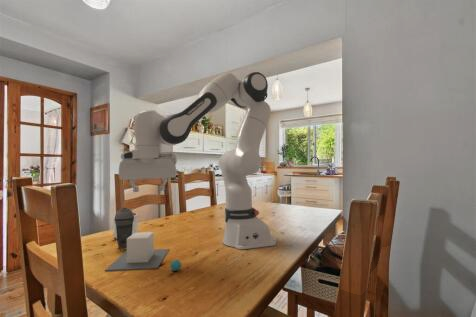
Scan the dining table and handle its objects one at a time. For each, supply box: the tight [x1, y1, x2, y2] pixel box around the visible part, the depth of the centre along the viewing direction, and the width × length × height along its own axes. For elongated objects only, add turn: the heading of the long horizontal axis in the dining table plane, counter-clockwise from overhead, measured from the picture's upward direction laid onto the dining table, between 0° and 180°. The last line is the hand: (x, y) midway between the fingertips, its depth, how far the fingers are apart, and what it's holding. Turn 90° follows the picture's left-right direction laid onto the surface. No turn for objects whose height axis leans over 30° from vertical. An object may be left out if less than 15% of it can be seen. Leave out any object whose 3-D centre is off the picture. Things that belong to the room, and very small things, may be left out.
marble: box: [170, 259, 182, 272], centre depth 71 cm, size 3×3×3 cm
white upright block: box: [126, 231, 155, 263], centre depth 79 cm, size 7×7×8 cm
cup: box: [113, 212, 139, 240], centre depth 106 cm, size 10×10×10 cm
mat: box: [104, 248, 170, 272], centre depth 79 cm, size 16×16×1 cm
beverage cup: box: [113, 197, 134, 250], centre depth 93 cm, size 7×7×20 cm
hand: (149, 191), depth 85 cm, fingers open, 8 cm apart
